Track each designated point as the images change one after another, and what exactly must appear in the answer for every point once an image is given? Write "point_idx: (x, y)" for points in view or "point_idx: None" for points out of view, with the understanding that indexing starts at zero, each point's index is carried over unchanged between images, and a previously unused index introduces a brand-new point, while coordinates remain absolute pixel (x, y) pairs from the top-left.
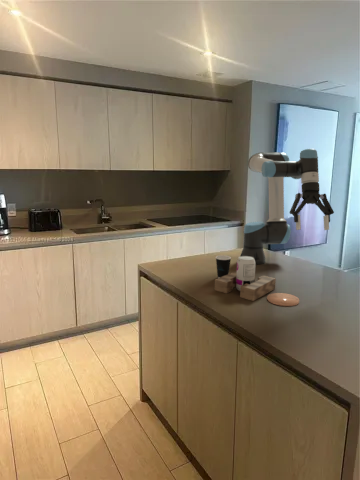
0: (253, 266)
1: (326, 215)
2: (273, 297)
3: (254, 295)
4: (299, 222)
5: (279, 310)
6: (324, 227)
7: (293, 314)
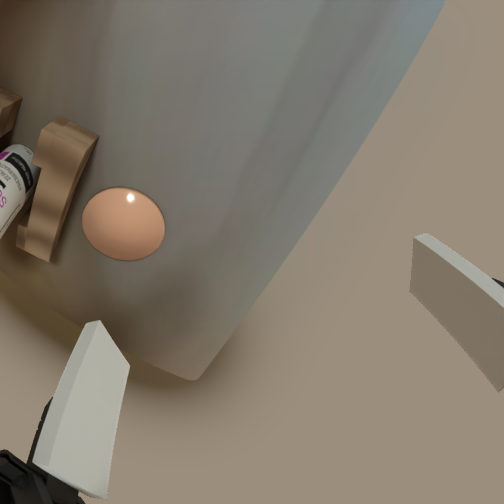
0: (2, 232)
1: (499, 384)
2: (97, 226)
3: (54, 247)
4: (108, 420)
5: (118, 276)
6: (429, 258)
7: (147, 288)
